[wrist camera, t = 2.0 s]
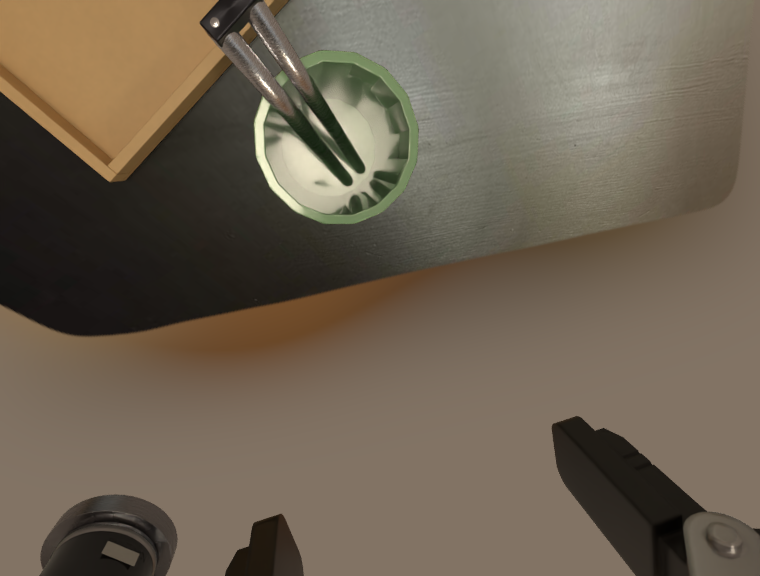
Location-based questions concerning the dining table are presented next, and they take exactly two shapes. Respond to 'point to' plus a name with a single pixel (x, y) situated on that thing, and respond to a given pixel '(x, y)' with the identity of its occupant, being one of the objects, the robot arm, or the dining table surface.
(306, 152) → the green cup
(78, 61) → the tray
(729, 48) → the dining table surface
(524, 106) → the dining table surface
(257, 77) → the tongs
